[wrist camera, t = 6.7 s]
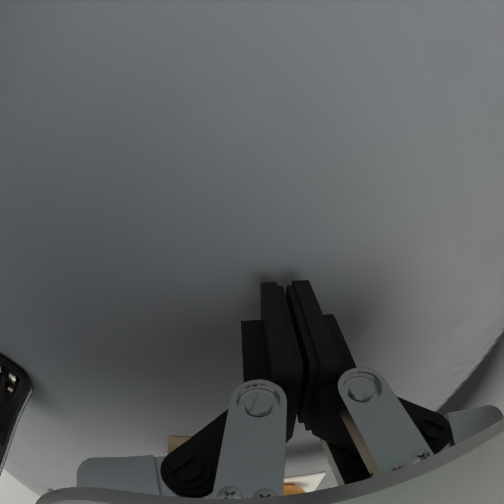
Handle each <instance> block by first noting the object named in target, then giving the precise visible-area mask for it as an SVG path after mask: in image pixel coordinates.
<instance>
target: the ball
mask: <svg viewBox="0 0 504 504" xmlns="http://www.w3.org/2000/svg"><path fill="white" fill-rule="evenodd" d="M299 493H306V492H305V491H304V490H303V489H302V488H300V487H298V486H295V485H290V484H284V490H283V496H284V495H292V494H299Z"/></svg>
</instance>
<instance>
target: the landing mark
mask: <svg viewBox="0 0 504 504" xmlns="http://www.w3.org/2000/svg"><path fill="white" fill-rule="evenodd" d="M325 474H326V473H325V472H322V473H316V474H310V475H303V476H296V477H288V478H284V484H290V485H295V486H298V487H300V488H302V489H303V490H304V491H305V492H312V491H315V489H316V488H317V486H318V485H319V483H320V481H321V480H322V478H323V477H324V475H325Z"/></svg>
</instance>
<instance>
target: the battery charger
mask: <svg viewBox="0 0 504 504" xmlns="http://www.w3.org/2000/svg"><path fill="white" fill-rule="evenodd" d="M31 395H32V387H31V386H30V383H29V381H28V379H27V377H26V375H25V374H24V373H23V372H22V370H20V369H19V368H18V367H17V366H16V365H14V364H13V363H11V362H10V361H8V360H7V359H6V358H4V357H3V356H1V355H0V475H1V472H2V469H3V467H4V464H5V461H6V458H7V455H8V451H9V448H10V445H11V442H12V439H13V436H14V433H15V430H16V427H17V424H18V422H19V419H20V417H21V415H22V413H23V411H24V408H25V406H26V404H27V402H28V400H29V399H30V397H31Z"/></svg>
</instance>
